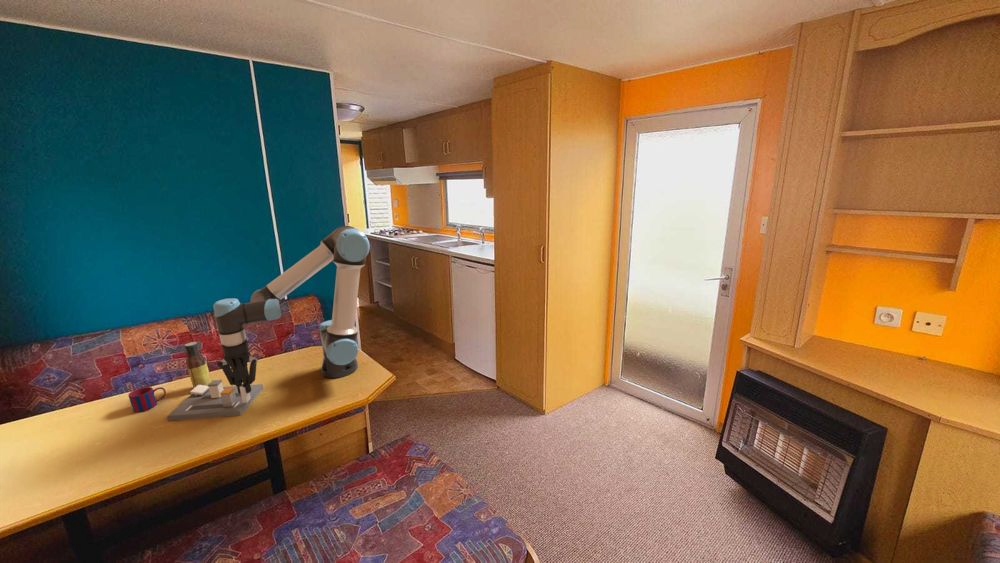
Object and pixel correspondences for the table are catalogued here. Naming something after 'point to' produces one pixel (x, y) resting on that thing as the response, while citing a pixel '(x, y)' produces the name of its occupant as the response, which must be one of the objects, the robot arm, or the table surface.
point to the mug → (144, 399)
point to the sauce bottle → (197, 365)
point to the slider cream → (215, 388)
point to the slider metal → (228, 397)
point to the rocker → (199, 390)
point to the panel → (212, 405)
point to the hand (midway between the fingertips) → (246, 400)
